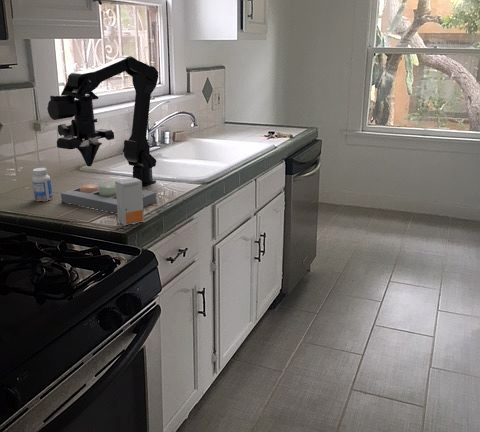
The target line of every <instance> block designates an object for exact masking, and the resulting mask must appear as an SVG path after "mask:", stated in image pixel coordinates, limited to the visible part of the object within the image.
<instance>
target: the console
mask: <svg viewBox="0 0 480 432" xmlns="http://www.w3.org/2000/svg"><path fill="white" fill-rule="evenodd" d="M90 184H93V185H98V187H99V186H101V185H105V184H107V182H106V183H105V182H100V181H94V182H91V183H88V184H87V185H90ZM80 187H81V186H78V187H76V188H73V189H70V190H67V191H64V192H60V199H61V203H62V202H65V203H64V204H66V203H71V204H75V205H74V206H76V205H80V206H84V207H83V208H85V207H89V208H88V209H90V208H94V209H98V210H97V211H99V210H103V211H102V212H104V211H107V212H106V213H108V212H113V213H118V210H117V197H116V195H114V196H111V197H104V196H99V191H96V192H93V193H90V194H89V193H84V192H80ZM142 194H143V208H145V207H147V206H146V205H148V206H149V204H150V205H152V204H151V203H153V204H155V203H157V192H155V191H149V190H144V189H142ZM154 202H155V203H154ZM71 204H70V205H71ZM80 206H79V207H80ZM144 206H145V207H144ZM94 209H93V210H94ZM113 213H112V214H113Z"/></svg>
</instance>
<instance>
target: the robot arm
mask: <svg viewBox="0 0 480 432" xmlns="http://www.w3.org/2000/svg"><path fill="white" fill-rule="evenodd" d="M124 72H125V73H126V74H127V75H128V76H130V77H131V79H132V86H133V88H134V91H135V97H134V107H133V108H134V109H133V116H132V117H133V118H132V126H131V134H130V137H129V138H128V139H124V141H123V149H122V152H123V156H124V158H125V160H126V161H127V163H128V165H129V166H132V178H137V179H139V180H141V181H142V187H146V186H149V185H152V184H154V183H156V182H157V180H155V179H153V168H155V167H156V166H157V159H156V158H155V157H154V156H153V155H152V154H151V152H150V150H151V148H150V144H149V142H148V139H147V134H148V133H147V132H148V123H149V114H150V107H151V98H152V97H151V96H152V93H153V91H155V89H156V87H157V84H158V80H159V71H158V70H157V68H156V67H155V66H153V65H149V64H148V63H145V62H143V61H140V60H138V59H136V58H135V57H133V56H131V55H120V56H119V57H118V58H116V59H113V60H111V61H108V62H106V63H104V64H101V65H100V66H97V67H95V68H93V69H89V70H88V69H87V70H80V71H75V72H71V73H69V74H68V75H67V79H66V83H65V85H64V87H63V89H62V91H61V94H60V95H50V96H49V99H50V100H49V101H48V104H47V107H46V108H47V109H46V110H47V113H48V115H49V117H50V119H51V120H53V121H58V120H63V119H64V120H65V119H71V120H70V121H71V124H70V125H67V124H66V123H61V124H58V125H57V133H58V135H59V136H60V137H59V138H57V139H56V147H57V149H66V150H75V149H77V150H78V151H79V153H80V154H81V157H82V158H83V160H84V163H85V164H86V167H92V165H93V164H94V163H93V162H94V161H95V157H96V155H97V153H98V150H99V149H100V147H101V146H102V144H103V143H102V142H99V140H100V139H105V140H107V141H111V140H115V132H114V131H113V130H112V129H108V128H107V129H106V128H105V129H104V128H100V129H96V123H98V118H96V117H95V114H94V104H93V101H95V100H99V96H97V94H95V93H94V92H93V91H94V90H96V89H97V88H98V87H99V86H100V84H101V83H102V82H103V83H104V81H107V80H109V79H111V78H113V77H115V76H118V75H120V74H123V73H124Z"/></svg>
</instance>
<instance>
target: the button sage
mask: <svg viewBox="0 0 480 432" xmlns="http://www.w3.org/2000/svg"><path fill="white" fill-rule="evenodd" d="M98 189H99V196H104V197H111V196H114V195H116V184H114V183H106V184H105V185H101V186H99V187H98Z"/></svg>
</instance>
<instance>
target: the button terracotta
mask: <svg viewBox="0 0 480 432" xmlns="http://www.w3.org/2000/svg"><path fill="white" fill-rule="evenodd" d="M89 184H90V185H88V184H83V185H81V186H79V187H80V192H84V193H89V194H90V193H93V192H96V191H99V189H98V185H93V184H91V183H89Z"/></svg>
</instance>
